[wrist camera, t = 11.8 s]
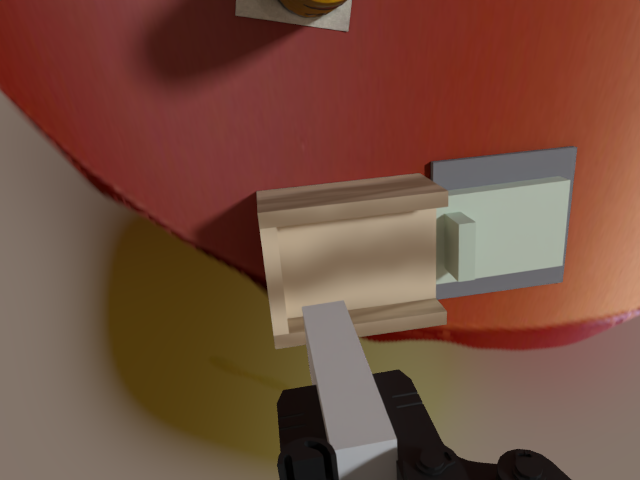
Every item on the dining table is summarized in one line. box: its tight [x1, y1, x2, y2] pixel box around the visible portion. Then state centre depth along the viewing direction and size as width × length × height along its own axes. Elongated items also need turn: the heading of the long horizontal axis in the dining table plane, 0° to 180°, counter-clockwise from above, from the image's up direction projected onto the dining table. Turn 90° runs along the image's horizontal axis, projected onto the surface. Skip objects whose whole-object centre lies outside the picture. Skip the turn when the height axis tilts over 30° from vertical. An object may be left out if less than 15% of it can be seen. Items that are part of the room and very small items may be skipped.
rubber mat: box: [431, 146, 577, 300], centre depth 43 cm, size 13×13×1 cm
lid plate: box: [436, 176, 570, 284], centre depth 41 cm, size 8×12×5 cm, turn 95°
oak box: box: [256, 173, 448, 349], centre depth 39 cm, size 11×14×6 cm
